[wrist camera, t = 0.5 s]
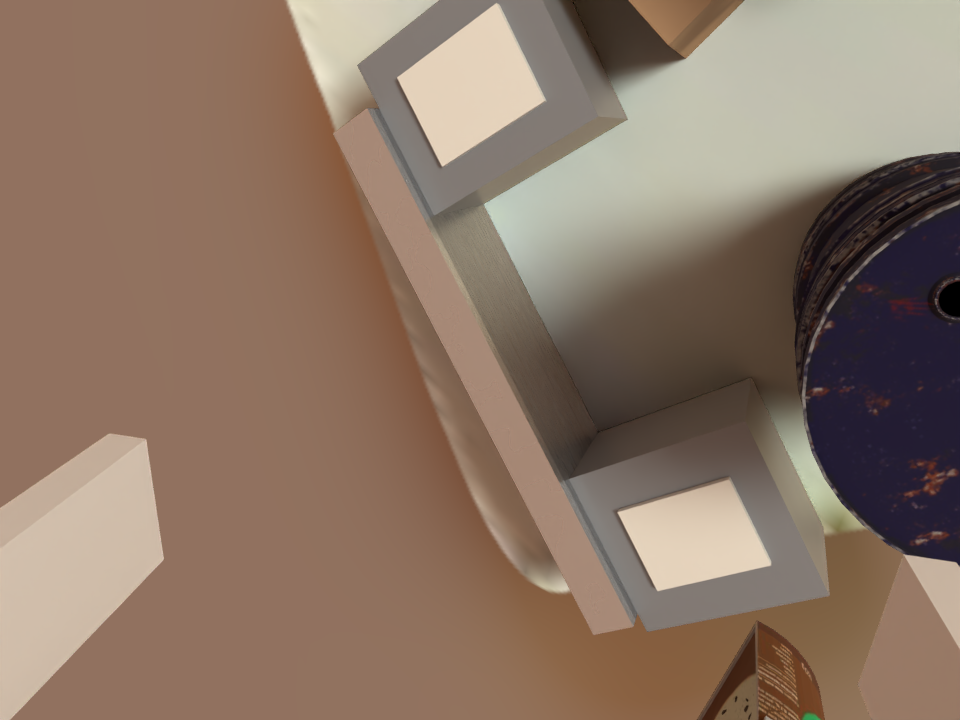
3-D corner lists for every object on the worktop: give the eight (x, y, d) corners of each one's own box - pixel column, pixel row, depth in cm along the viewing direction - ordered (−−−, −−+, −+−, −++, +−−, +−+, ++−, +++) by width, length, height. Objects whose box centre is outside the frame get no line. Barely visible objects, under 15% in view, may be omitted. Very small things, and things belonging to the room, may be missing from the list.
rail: (436, 112, 34) (366, 108, 29) (657, 549, 36) (633, 626, 31) (406, 133, 35) (332, 133, 29) (623, 558, 37) (593, 634, 32)
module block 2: (751, 377, 32) (744, 423, 27) (823, 527, 33) (830, 599, 28) (598, 432, 36) (567, 482, 31) (665, 566, 36) (645, 635, 31)
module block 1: (557, -29, 30) (511, -61, 25) (628, 118, 31) (596, 116, 26) (417, 74, 34) (353, 64, 29) (483, 204, 35) (430, 216, 30)
